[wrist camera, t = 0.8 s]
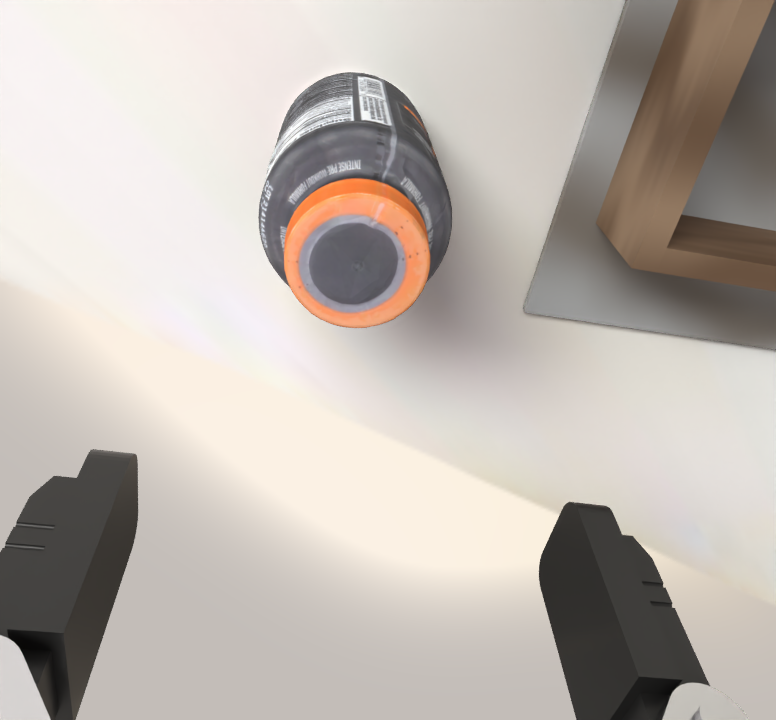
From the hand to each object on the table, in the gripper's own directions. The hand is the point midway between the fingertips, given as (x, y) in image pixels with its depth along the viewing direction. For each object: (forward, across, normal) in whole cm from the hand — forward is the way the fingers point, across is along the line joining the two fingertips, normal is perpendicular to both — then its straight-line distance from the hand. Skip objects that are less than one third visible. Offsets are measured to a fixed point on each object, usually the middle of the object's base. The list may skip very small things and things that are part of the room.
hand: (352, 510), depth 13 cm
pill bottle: (+19, 0, -1) cm, 19 cm away
